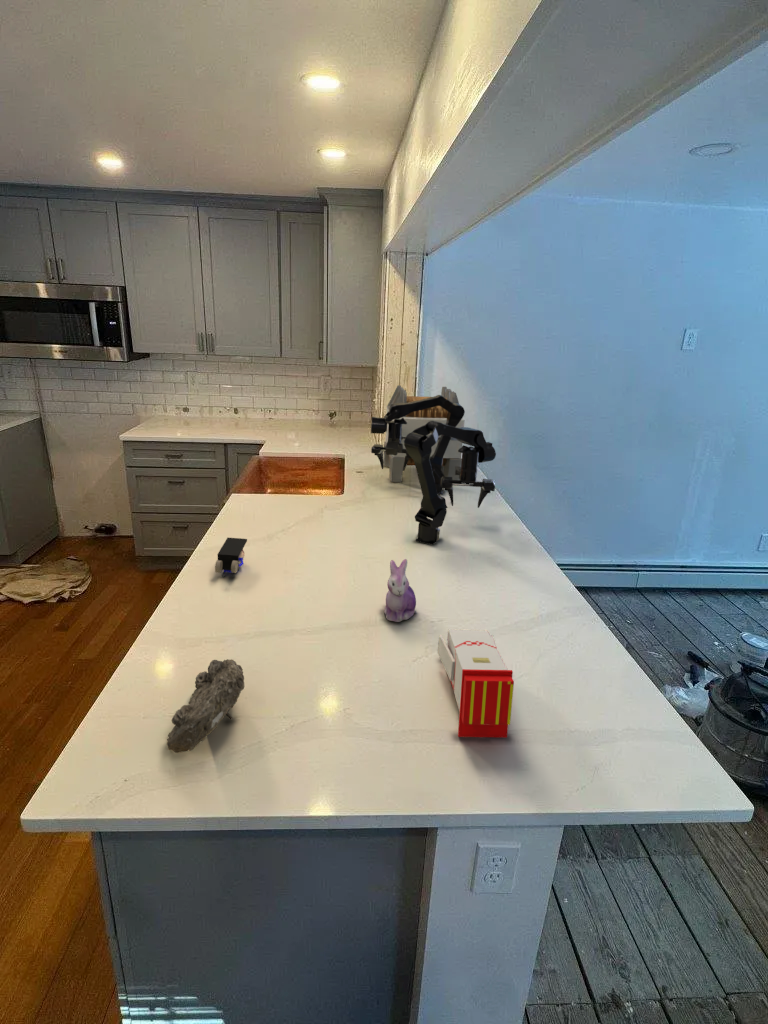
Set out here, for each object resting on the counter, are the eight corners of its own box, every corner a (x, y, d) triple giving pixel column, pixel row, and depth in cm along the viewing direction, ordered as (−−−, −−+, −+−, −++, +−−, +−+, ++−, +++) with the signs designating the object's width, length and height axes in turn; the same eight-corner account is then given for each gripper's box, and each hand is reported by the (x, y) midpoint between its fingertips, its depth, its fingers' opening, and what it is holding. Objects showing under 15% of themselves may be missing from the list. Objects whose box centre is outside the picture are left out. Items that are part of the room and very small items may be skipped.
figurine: (392, 627, 141) (395, 572, 136) (374, 608, 149) (376, 556, 144) (425, 619, 145) (429, 566, 140) (405, 601, 154) (408, 550, 149)
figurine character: (238, 584, 162) (249, 557, 175) (236, 562, 158) (247, 536, 172) (215, 584, 161) (227, 556, 175) (212, 561, 158) (225, 535, 171)
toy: (488, 613, 130) (523, 677, 101) (484, 667, 133) (517, 744, 104) (435, 612, 130) (455, 676, 101) (432, 666, 133) (451, 743, 103)
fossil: (192, 660, 117) (244, 628, 112) (224, 691, 120) (276, 661, 115) (142, 746, 98) (202, 712, 93) (182, 779, 101) (242, 748, 96)
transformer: (382, 463, 289) (386, 382, 275) (445, 464, 293) (451, 384, 279) (390, 482, 257) (394, 392, 243) (460, 483, 261) (468, 394, 247)
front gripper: (493, 460, 205) (489, 501, 210) (441, 457, 205) (438, 498, 211) (497, 468, 194) (492, 511, 199) (442, 465, 195) (439, 507, 200)
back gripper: (369, 436, 232) (368, 472, 237) (414, 439, 229) (412, 476, 234) (374, 430, 242) (373, 466, 247) (417, 434, 239) (415, 469, 244)
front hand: (465, 506), depth 203 cm, fingers open, 9 cm apart
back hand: (393, 469), depth 243 cm, fingers open, 9 cm apart
